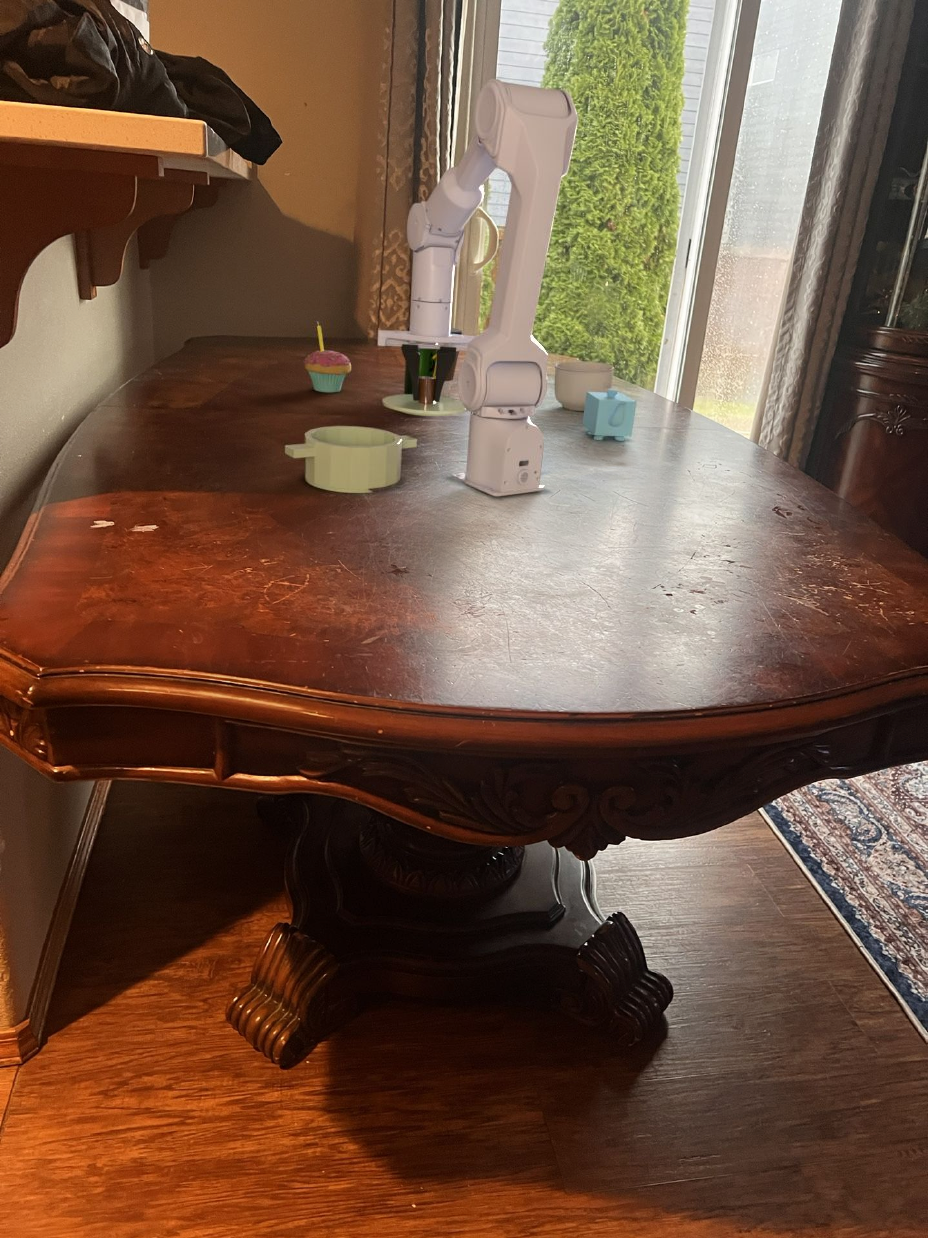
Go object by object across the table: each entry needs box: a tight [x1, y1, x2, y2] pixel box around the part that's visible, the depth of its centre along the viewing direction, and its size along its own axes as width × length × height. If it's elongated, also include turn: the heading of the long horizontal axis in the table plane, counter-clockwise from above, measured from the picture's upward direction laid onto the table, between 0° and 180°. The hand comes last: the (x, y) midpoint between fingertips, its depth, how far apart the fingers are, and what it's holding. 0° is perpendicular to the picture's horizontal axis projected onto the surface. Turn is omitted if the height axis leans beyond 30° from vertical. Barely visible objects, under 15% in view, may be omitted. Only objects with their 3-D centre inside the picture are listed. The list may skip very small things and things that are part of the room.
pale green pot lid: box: [381, 376, 468, 417], centre depth 129 cm, size 13×13×5 cm
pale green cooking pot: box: [284, 425, 418, 494], centre depth 110 cm, size 12×17×5 cm
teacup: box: [554, 360, 615, 412], centre depth 167 cm, size 14×11×8 cm
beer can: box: [403, 341, 438, 395], centre depth 149 cm, size 5×5×12 cm
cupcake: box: [303, 320, 352, 393], centre depth 163 cm, size 9×8×12 cm
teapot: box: [582, 388, 638, 442], centre depth 143 cm, size 12×6×8 cm, turn 9°
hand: (426, 400), depth 129 cm, fingers closed on pale green pot lid, 2 cm apart
